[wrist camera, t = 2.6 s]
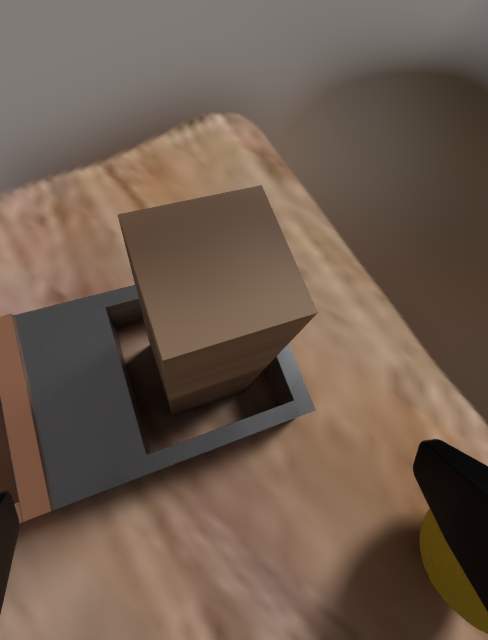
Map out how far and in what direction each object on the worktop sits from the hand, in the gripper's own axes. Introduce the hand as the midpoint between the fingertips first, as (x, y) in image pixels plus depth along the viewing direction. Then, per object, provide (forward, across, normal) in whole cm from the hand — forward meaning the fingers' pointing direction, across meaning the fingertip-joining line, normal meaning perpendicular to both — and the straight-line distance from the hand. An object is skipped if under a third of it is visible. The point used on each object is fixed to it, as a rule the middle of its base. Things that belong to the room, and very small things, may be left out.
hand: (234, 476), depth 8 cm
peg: (+12, 0, +5) cm, 13 cm away
